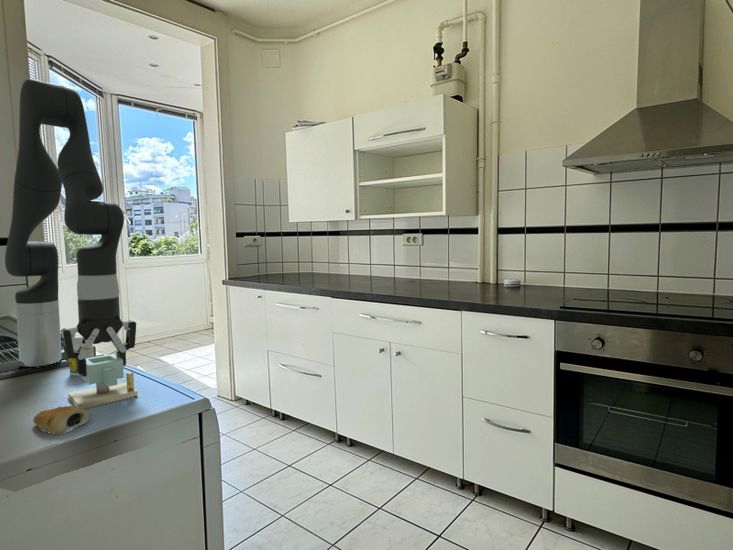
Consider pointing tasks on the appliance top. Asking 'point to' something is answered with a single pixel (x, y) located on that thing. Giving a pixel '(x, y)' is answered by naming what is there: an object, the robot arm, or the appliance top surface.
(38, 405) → the appliance top surface
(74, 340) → the supplement bottle
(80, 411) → the pastry
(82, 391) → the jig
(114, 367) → the pale green hollow block
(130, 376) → the pin
